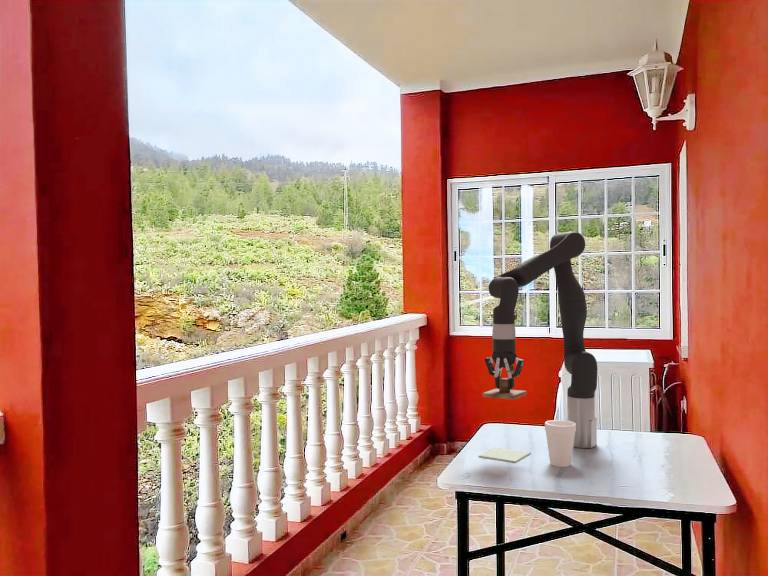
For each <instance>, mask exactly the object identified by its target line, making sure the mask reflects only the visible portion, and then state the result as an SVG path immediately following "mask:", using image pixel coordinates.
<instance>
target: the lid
mask: <svg viewBox="0 0 768 576" xmlns="http://www.w3.org/2000/svg"><path fill="white" fill-rule="evenodd" d="M508 379H509V377H501V378H500V379H499V389H497V387H496V388H493V389H490V390H488V391H484V392H482V397H483V398H492V399H501V400H502V399H503V400H513V401H514V400H517V399H519V398H521V397H524V396H527V395H528V393H527V392H528V391H527V390H519V389H512V390H509V389H508Z"/></svg>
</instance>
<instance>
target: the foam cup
mask: <svg viewBox="0 0 768 576" xmlns="http://www.w3.org/2000/svg"><path fill="white" fill-rule="evenodd" d="M544 431H545V435H546V436H545V437H546V441H547V442H546V443H547V451H548V457H549V464H550V465H551V466H554V467H558V468H559V467H560V468H561V467H563V468H565V467H570V466H571V465H572V461H573V460H572V459H573V451H574V447H573V445H574V437H575V432H576V423H574V422H571V421H568V420H565V419H552V420H546V421H545V422H544Z"/></svg>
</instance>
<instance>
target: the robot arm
mask: <svg viewBox="0 0 768 576" xmlns="http://www.w3.org/2000/svg"><path fill="white" fill-rule="evenodd" d="M585 248H586V240H585V237H584V236H583V235H582V234H581V233H580V232H578V231H565V232H559V233H556V234H553V236H552V237H551V239H550V241H549V249H548V250H546V251H544V252H542V253H541V252H540V253H539V254H537V255H535V256H532V257H530V258H528V259H526V260H524V261H523V262H522V263H520V264H518V265H517V266H516V267H514V268H513V269H511V270H509V271H506V272H503V273H501V274H499V275H497V276H496V277H494V278H492V280H490V282H489V285H488V293H489V294H490V296H491V297H492V298H496V299H500V300H499V304H498V305H497V306H495V307H493V311H492V333H491V334H492V335H491V336H492V355H491V356H490V357H485V358H484V362H485V365H486V367H487V370H488V373H489V376H493V378H494V380H495V381H494V383H495V384H494V387H496V388H497V389H499V379H500V378H502V377H501V374H502V370H503V368H504V369H505V370H506V372H507V376H508V377H507V378H509V379H508V389H509V390H514V387H515V378H516V377H520V375H521V373H522V369H523V367H524V363H525V360H524V359H521V358H518V356H517V354H516V348H517V347H516V345H517V344H516V326H515V311H516V310H515V309H516V306H517V301H518V297H519V288H522V287H525V286H527V285H529V284H531V282H533V281H535V280H536V279H538V278H539V277H541V276H542V275H544V274H545V273H547V272H549V271H550V270H554V271H553V272H554V275H555V281H556V289H557V297H558V307H559V315H560V323H561V328H562V336H563V364H564V368H565V370H566V371H567V372H568V374H570V375H571V383H570V386H568V387H567V398H566V399H567V410H566V411H567V413H566V414H567V416H566V417H567V421H571V422H574V423H576V432H575V437H574V445H573V448H579V449H588V448H589V449H593V448H594V447H596V446H597V444H598V441H597V440H598V438H597V435H598V434H597V431H598V430H597V425H598V423H597V422H598V421H597V419H598V418H597V417H596V415H595V414H596V407H595V406H596V404H595V402H596V401H595V400H596V399H595V394H596V391H597V387H598V386H597V385H598V362H597V359H596V357H595V356H594V355H593V354H592V353H591V352H588V351H586V345H585V340H584V333H585V325H586V322H587V316H588V309H587V300H586V294H585V291H584V290H583V289H584V288H582V286H581V284H580V282H579V280H578V279H577V277H576V276H575V274H574V271H573V266H572V259H574V258H577V257H579V256H580V255H582V254H583V252H584V251H585ZM493 363H495V367H494V364H493ZM514 364H515V365H516V367H515V368H514Z"/></svg>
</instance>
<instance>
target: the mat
mask: <svg viewBox="0 0 768 576" xmlns="http://www.w3.org/2000/svg"><path fill="white" fill-rule="evenodd" d="M530 455H531V452H530V451H523V450H517V449H511V448H510V449H509V448H505V447H504V448H503V447H497V446H494V447H493V448H490V449H489V450H487V451H485V452H482V453H481V454H479V455H478V458H482V459H483V458H484V459H490V460H493V461H494V460H497V461H501V462H506V463H507V462H508V463H514V464H516V463H517V462H518V463H519V462H520V461H521V460H522V459H525V458H526V457H528V456H530Z"/></svg>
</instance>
